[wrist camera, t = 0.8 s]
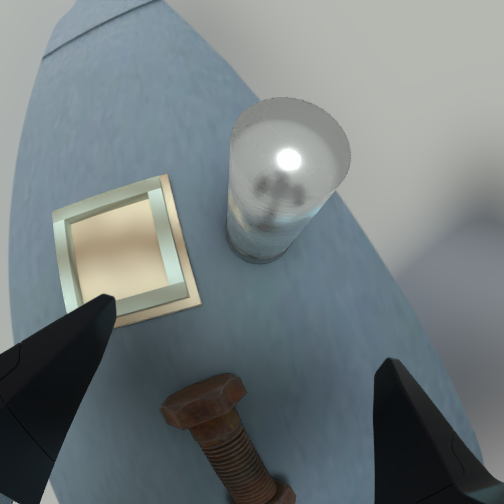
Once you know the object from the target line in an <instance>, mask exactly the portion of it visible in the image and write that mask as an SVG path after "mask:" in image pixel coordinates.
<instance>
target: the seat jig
mask: <svg viewBox="0 0 504 504" xmlns="http://www.w3.org/2000/svg"><path fill="white" fill-rule="evenodd" d="M52 216H53V227H54V237H55V245H56V253H57V260H58V267H59V273H60V280H61V285H62V291H63V296H64V301H65V306H66V311H67V314H68V313H70V312H71V311H73V310H75V309H76V308H78V307H80V306H82V305H83V304H85V303H87V302H88V301H90V300H92V299H94V298H95V297H97V296H99V295H101V294H108V295H111V296H114V297H115V300H116V311H117V318H116V322H115V325H114V327H113V329H114V328H118V327H122V326H126V325H130V324H134V323H137V322H141V321H145V320H149V319H152V318H156V317H160V316H163V315H167V314H171V313H174V312H178V311H182V310H185V309H189V308H192V307H196V306H199V305H202V302H201V299H200V295H199V292H198V288H197V285H196V281H195V278H194V274H193V271H192V267H191V263H190V260H189V256H188V252H187V248H186V245H185V241H184V237H183V233H182V229H181V225H180V221H179V217H178V213H177V209H176V205H175V201H174V197H173V193H172V189H171V184H170V180H169V177H168V174H164V175H161V176H156V177H152V178H149V179H146V180H142V181H139V182H136V183H133V184H129V185H126V186H123V187H120V188H117V189H114V190H111V191H108V192H105V193H102V194H99V195H96V196H93V197H90V198H88V199H85V200H82V201H79V202H76V203H74V204H71V205H68V206H66V207H63V208H60V209H58V210H55V211H52Z"/></svg>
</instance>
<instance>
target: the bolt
mask: <svg viewBox="0 0 504 504" xmlns="http://www.w3.org/2000/svg"><path fill="white" fill-rule="evenodd" d="M246 393H247V391H246V389H245V387H244V385H243V383H242V381H241V379H240V378H239V377H237V376H235V375H233V374H230V373H226V374H222V375H218V376H214V377H211V378H208V379H205V380H203V381H200V382H198V383H195V384H193V385H190V386H188V387H186V388H184V389H182V390H180V391H178V392H177V393H175V394H173V395H171V396H169V397H168V398H167V399H166V400H165V401H164V402H163V404H162V406H161V408H160V411H161V413H162V415H163V417H164V419H165V421H166V423H167V424H169V425H172V426H174V427H177V428H179V429H182V430H184V429H187V428H188V429H189V430H190V432H191V434H192V436H193V438H194V439H195V441H197V442H198V444H200V447H201V448H202V451H203V452H204V454H205V455H206V456H207V459H208V460H209V462H210V463H211V466H212V467H213V469H214V471H216V474H217V475H218V477H219V478H220V480H221V481H222V483H223V484H224V486H225V487H226V489H227V491H228V492H229V494H231V496H232V497H233V499H232V501H231V503H230V504H295V501H296V495H295V493H294V491H293V490H292V488H291V487H290V486H289V485H287V484H285V483H283V482H281V481H279V480H272V478H271V476H270V475H269V473H268V471H267V469H266V468H265V466H264V465H263V463H262V461H261V459H260V458H259V455H258V454H257V452H256V451H255V449H254V447H253V445H252V443H251V441H250V440H249V437H248V436H247V434H246V432H245V430H244V428H243V426H242V424H241V420H240V418H239V416H238V414H237V412H236V410H235V408H234V406H235V405H236V404H237V403H238V402H239V401H240V400H241V399H242V397H243V396H244V395H245V394H246Z"/></svg>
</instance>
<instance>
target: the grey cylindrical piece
mask: <svg viewBox="0 0 504 504" xmlns="http://www.w3.org/2000/svg"><path fill="white" fill-rule="evenodd" d="M350 162H351V151H350V145H349V142H348V139H347V137H346V134H345V132H344V131H343V129H342V127H341V126H340V125H339V123H338V122H337V121H336V120H335V119H334V118H333V117H332V116H331V115H330V114H328V113H327V112H326V111H325V110H323V109H321V108H320V107H318V106H316V105H314V104H312V103H310V102H307V101H304V100H301V99H296V98H288V97H278V98H271V99H266V100H263V101H260V102H258V103H256V104H253V105H252V106H250V107H249V108H247V109H246V110H245V111H244V112H243V113H242V114H241V115H240V116H239V118H238V119H237V121H236V122H235V124H234V127H233V129H232V134H231V144H230V164H229V186H228V210H227V220H226V237H227V241H228V244H229V246H230V248H231V249H232V251H233V252H234V253H235V254H236V255H237V256H238V257H239V258H241V259H242V260H244V261H246V262H249V263H253V264H266V263H270V262H273V261H275V260H277V259H278V258H279V257H281V256H282V255H283V254H284V253H285V251H286V250H287V249H288V248H289V247H290V245H291V244H292V242H293V241H294V240H295V238H296V237H297V236H298V235H299V234H300V232H301V231H302V230H303V229H304V228H305V226H306V225H307V224H308V223H309V222H310V220H311V219H312V218H313V217H314V215H315V214H316V213H317V212H318V211H319V209H320V208H321V207H322V206H323V205H324V203H325V202H326V201H327V200H328V198H329V197H330V196H331V195H332V194H333V192H334V191H335V190H336V189H337V187H338V186H339V185H340V184H341V182H342V181H343V180H344V178H345V177H346V175H347V173H348V170H349V167H350Z"/></svg>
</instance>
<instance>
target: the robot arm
mask: <svg viewBox="0 0 504 504" xmlns="http://www.w3.org/2000/svg"><path fill="white" fill-rule="evenodd" d="M116 318H117V311H116V300H115V297H114V296H111V295H108V294H101V295H99V296H97V297H95V298H94V299H92V300H90V301H88V302H87V303H85V304H83V305H82V306H80V307H78V308H76V309H75V310H73V311H71V312H70V313H68V314H66V315H65V316H63V317H61V318H59V319H58V320H56V321H54V322H53V323H51V324H49V325H48V326H46V327H44V328H43V329H41V330H39V331H38V332H36V333H34V334H33V335H31V336H29V337H28V338H26V339H25V340H23V341H21V343H18V344H16V345H15V346H13V347H12V348H10V349H8V350H6V351H5V352H3V353H1V354H0V504H12V503H13V501H15V502H17V503H19V504H40V501H41V498H42V495H43V493H44V490H45V487H46V484H47V482H48V479H49V477H50V474H51V472H52V469H53V466H54V464H55V463H54V462H55V461H56V459H57V456H58V454H59V451H60V449H61V446H62V444H63V442H64V439H65V437H66V435H67V432H68V430H69V428H70V426H71V423H72V421H73V419H74V417H75V414H76V412H77V410H78V408H79V406H80V403H81V401H82V399H83V397H84V395H85V393H86V391H87V388H88V386H89V384H90V382H91V380H92V378H93V376H94V374H95V372H96V370H97V368H98V366H99V364H100V362H101V359H102V357H103V354H104V351H105V349H106V346H107V343H108V341H109V338H110V335H111V333H112V330H113V327H114V325H115V322H116ZM373 430H374V458H375V503H374V504H504V483H503V482H501V481H499V480H497V479H495V478H494V477H493V476H492V475H491V474H490V473H489V472H488V471H487V469H486V468H485V467H484V466H483V465H482V464H481V462H480V461H479V460H478V459H477V458H476V457H475V456H474V454H473V453H472V452H471V451H470V450H469V449H468V447H467V446H466V445H465V444H464V442H463V441H462V440H461V438H460V437H459V436H458V434H457V433H456V432H455V431H453V428H452V426H451V425H450V424H449V423H448V421H447V420H446V419H445V417H444V416H443V415H442V413H441V412H440V411H439V409H438V408H437V407H436V406H435V404H434V403H433V402H432V400H431V399H430V398H429V397H428V395H427V394H426V393H425V391H424V390H423V389H422V388H421V386H420V385H419V384H418V383H417V381H416V380H415V379H414V377H413V376H412V375H411V374H410V372H409V371H408V370H407V369H406V367H405V366H404V365H403V364H402V363H401V361H400V360H399V359H397V358H387V359H386V360H385V361H384V362H383V363H382V365H381V366H380V367H379V369H378V370H377V371H376V373H375V377H374V401H373Z"/></svg>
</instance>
